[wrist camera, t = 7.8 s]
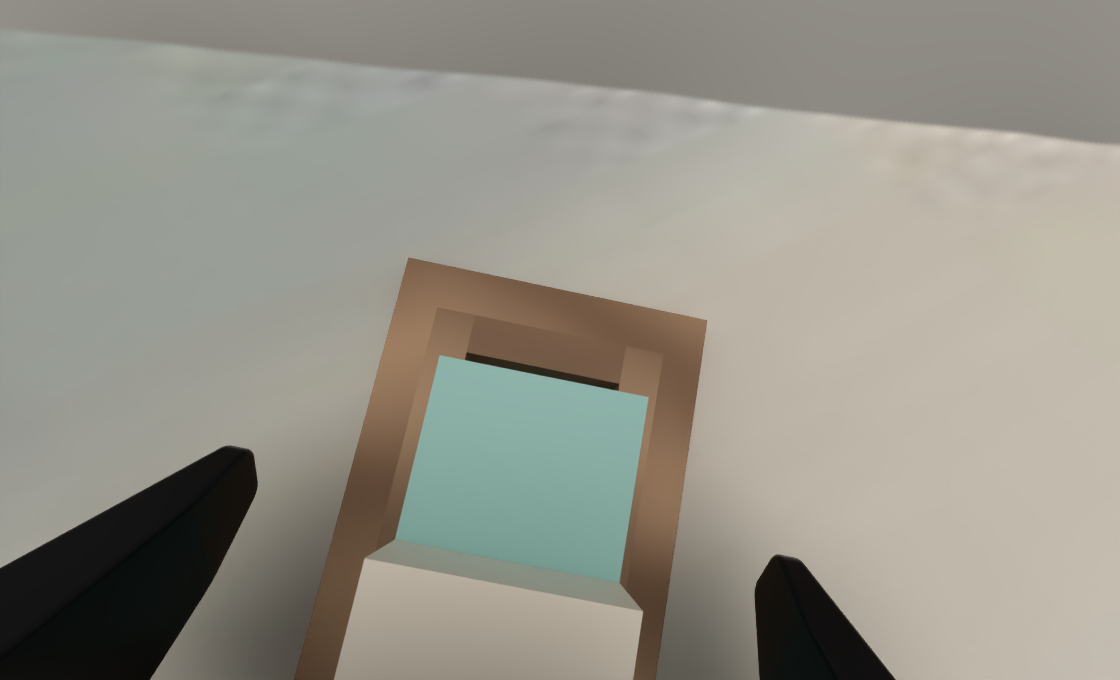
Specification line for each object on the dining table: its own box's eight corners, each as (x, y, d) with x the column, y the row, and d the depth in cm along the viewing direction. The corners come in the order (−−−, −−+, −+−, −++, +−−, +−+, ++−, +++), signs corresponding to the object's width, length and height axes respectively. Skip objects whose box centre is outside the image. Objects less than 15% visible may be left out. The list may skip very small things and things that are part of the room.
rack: (620, 864, 16) (655, 1004, 12) (269, 799, 16) (180, 919, 12) (699, 326, 20) (748, 288, 16) (413, 265, 19) (383, 211, 15)
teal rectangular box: (533, 677, 16) (563, 1145, 5) (429, 657, 16) (230, 1090, 5) (578, 433, 18) (677, 382, 7) (483, 413, 18) (421, 331, 7)
